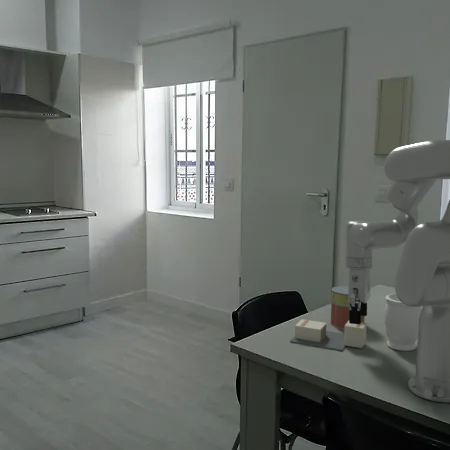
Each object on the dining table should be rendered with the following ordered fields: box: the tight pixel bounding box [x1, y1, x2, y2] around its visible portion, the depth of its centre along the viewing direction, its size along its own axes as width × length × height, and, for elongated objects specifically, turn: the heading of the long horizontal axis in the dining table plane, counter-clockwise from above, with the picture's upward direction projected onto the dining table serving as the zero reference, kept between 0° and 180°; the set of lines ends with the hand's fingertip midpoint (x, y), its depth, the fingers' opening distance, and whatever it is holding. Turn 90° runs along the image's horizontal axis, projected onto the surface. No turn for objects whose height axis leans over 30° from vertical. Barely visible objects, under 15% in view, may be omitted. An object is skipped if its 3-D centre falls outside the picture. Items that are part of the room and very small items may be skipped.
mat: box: [289, 330, 346, 352], centre depth 155 cm, size 14×16×1 cm
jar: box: [383, 293, 422, 352], centre depth 148 cm, size 11×10×15 cm
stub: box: [343, 321, 368, 349], centre depth 150 cm, size 6×5×6 cm
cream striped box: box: [294, 318, 327, 342], centre depth 156 cm, size 7×8×4 cm
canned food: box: [329, 285, 365, 330], centre depth 168 cm, size 11×11×12 cm
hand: (358, 319), depth 148 cm, fingers open, 9 cm apart
